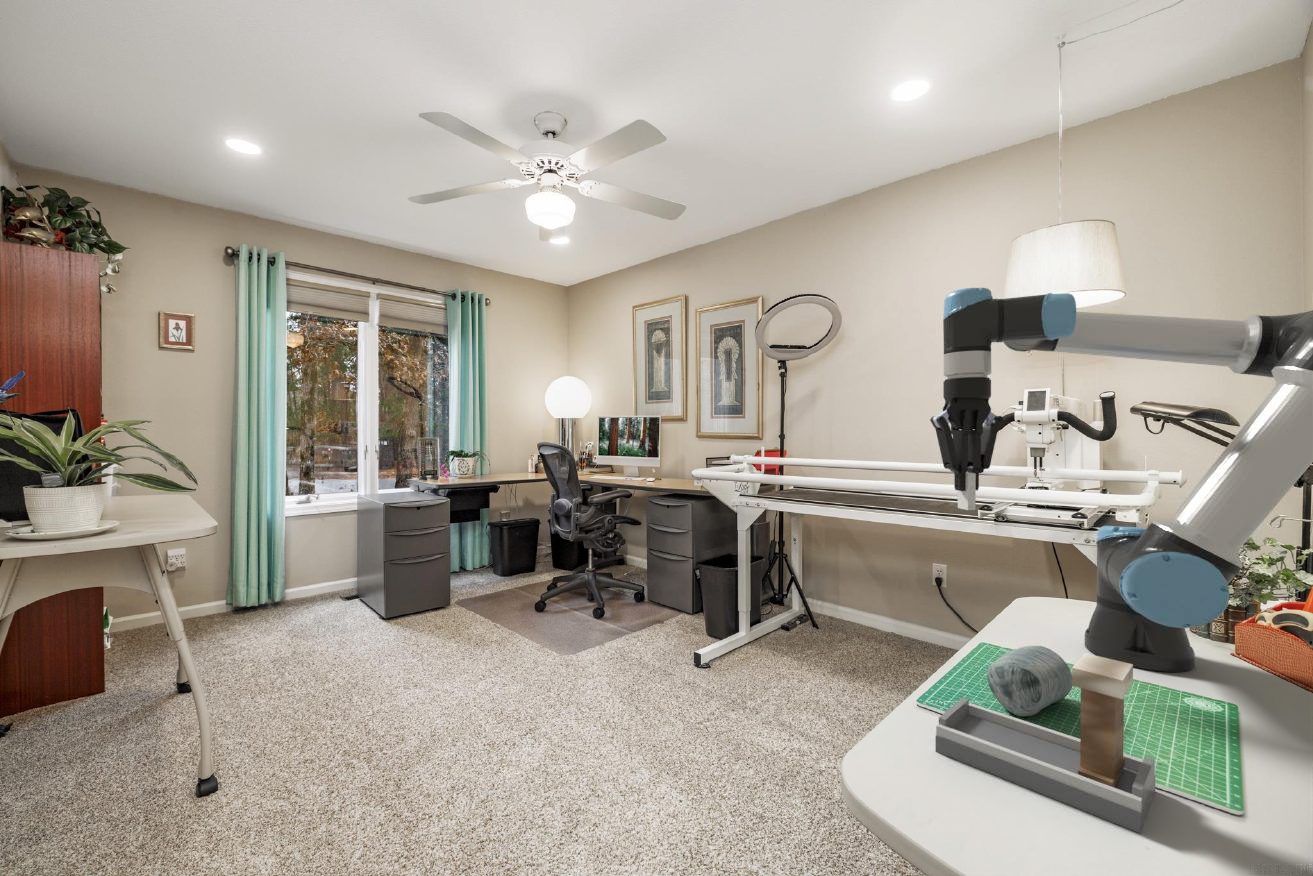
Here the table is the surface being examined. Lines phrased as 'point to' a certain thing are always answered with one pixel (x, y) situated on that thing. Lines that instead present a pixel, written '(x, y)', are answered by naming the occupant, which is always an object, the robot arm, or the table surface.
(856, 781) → the table surface
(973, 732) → the gray rectangular tray
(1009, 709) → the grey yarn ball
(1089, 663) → the block
